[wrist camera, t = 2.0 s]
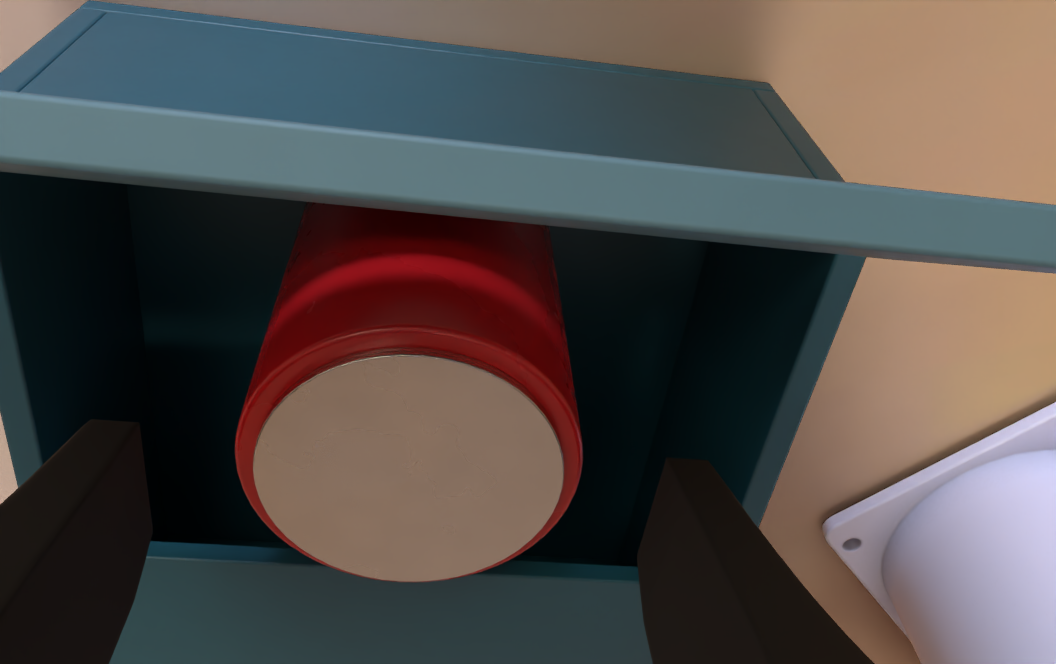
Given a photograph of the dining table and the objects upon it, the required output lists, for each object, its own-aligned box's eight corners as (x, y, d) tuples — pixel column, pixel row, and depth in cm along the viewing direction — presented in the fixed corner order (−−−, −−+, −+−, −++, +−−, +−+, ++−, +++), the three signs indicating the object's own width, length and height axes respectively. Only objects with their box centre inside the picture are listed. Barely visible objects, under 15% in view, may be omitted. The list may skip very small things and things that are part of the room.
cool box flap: (-92, 162, 11) (-92, 129, 11) (893, 260, 13) (898, 231, 13) (-846, 78, 5) (-852, -3, 5) (1410, 303, 6) (1421, 245, 6)
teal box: (87, -1, 17) (-100, 152, 11) (770, 81, 18) (902, 252, 13) (154, 533, 25) (63, 779, 19) (629, 558, 26) (673, 792, 21)
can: (593, 243, 20) (651, 494, 14) (416, 362, 21) (395, 636, 15) (442, 62, 17) (430, 267, 11) (254, 211, 19) (152, 463, 13)
